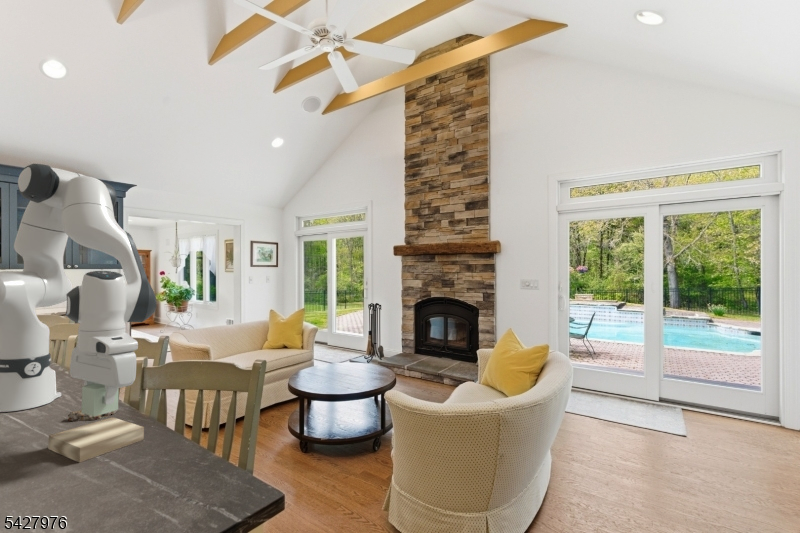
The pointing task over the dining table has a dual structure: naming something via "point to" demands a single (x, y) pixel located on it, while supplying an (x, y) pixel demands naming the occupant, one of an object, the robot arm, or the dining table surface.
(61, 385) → the dining table surface
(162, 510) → the dining table surface
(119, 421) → the birch plinth
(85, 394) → the sage block
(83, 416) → the mineral rock
